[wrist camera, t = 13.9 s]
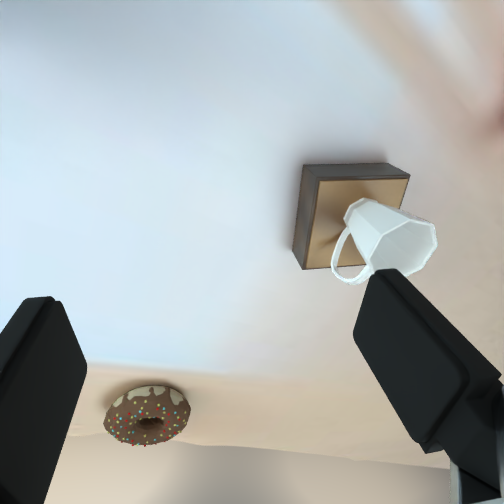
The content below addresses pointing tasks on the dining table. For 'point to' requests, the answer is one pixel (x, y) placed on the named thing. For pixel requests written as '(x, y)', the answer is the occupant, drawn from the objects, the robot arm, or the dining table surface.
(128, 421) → the donut
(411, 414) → the robot arm
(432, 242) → the cup
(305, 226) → the block
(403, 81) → the dining table surface
